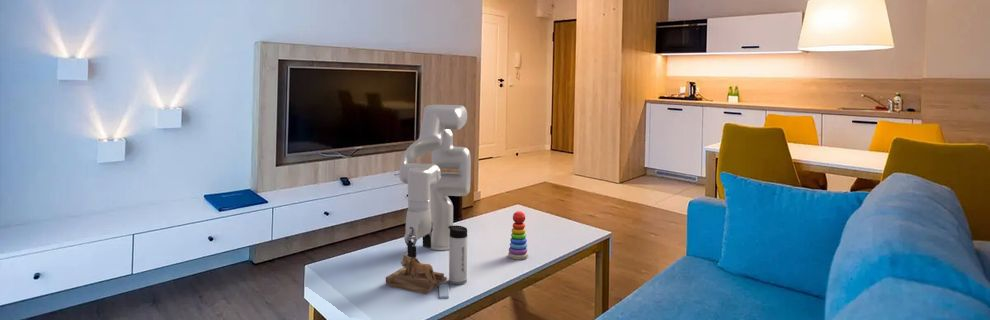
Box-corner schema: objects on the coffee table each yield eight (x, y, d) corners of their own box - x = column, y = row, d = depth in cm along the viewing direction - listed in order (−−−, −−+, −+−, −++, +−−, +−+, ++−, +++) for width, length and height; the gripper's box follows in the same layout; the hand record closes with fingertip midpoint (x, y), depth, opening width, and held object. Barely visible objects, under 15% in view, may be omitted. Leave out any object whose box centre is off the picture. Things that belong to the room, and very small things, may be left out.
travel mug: (449, 277, 191) (449, 223, 188) (467, 278, 191) (468, 224, 187) (447, 284, 185) (447, 228, 181) (466, 285, 184) (466, 229, 181)
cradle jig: (408, 272, 195) (408, 264, 195) (446, 279, 189) (446, 271, 188) (385, 285, 183) (385, 277, 182) (426, 294, 176) (426, 285, 176)
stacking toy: (531, 258, 213) (533, 212, 210) (515, 261, 209) (517, 215, 206) (520, 252, 220) (521, 208, 217) (504, 255, 215) (505, 210, 212)
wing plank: (439, 287, 183) (439, 284, 183) (448, 287, 183) (448, 284, 183) (439, 300, 173) (439, 296, 173) (448, 299, 173) (448, 296, 173)
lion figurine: (398, 280, 185) (398, 255, 183) (406, 275, 190) (406, 251, 188) (436, 287, 180) (436, 261, 178) (443, 281, 184) (443, 256, 183)
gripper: (422, 197, 190) (423, 242, 194) (395, 209, 175) (396, 258, 178) (441, 199, 187) (441, 245, 191) (414, 212, 172) (415, 262, 175)
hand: (419, 252), depth 184 cm, fingers open, 9 cm apart
